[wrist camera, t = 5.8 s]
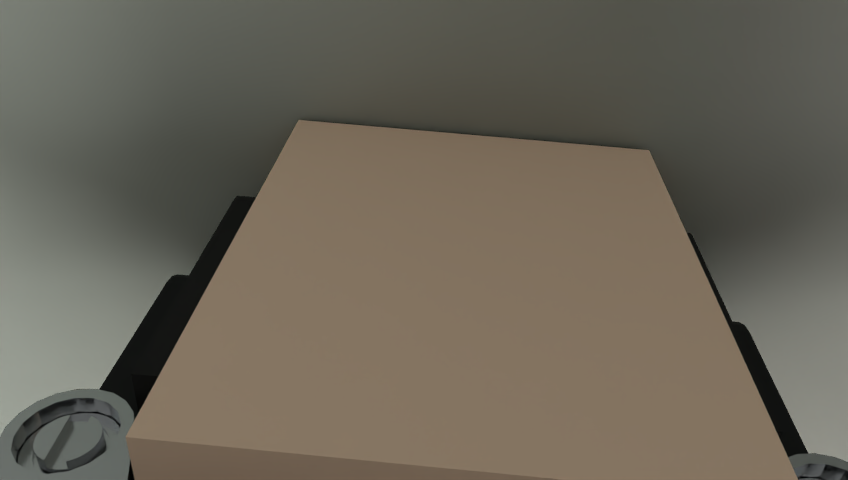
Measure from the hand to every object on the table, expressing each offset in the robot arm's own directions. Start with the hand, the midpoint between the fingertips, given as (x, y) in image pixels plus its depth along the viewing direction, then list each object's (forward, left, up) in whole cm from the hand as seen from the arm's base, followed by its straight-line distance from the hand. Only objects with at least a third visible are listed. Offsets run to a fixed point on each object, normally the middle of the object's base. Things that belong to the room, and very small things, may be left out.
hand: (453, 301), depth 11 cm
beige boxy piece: (+1, 0, -1) cm, 1 cm away
